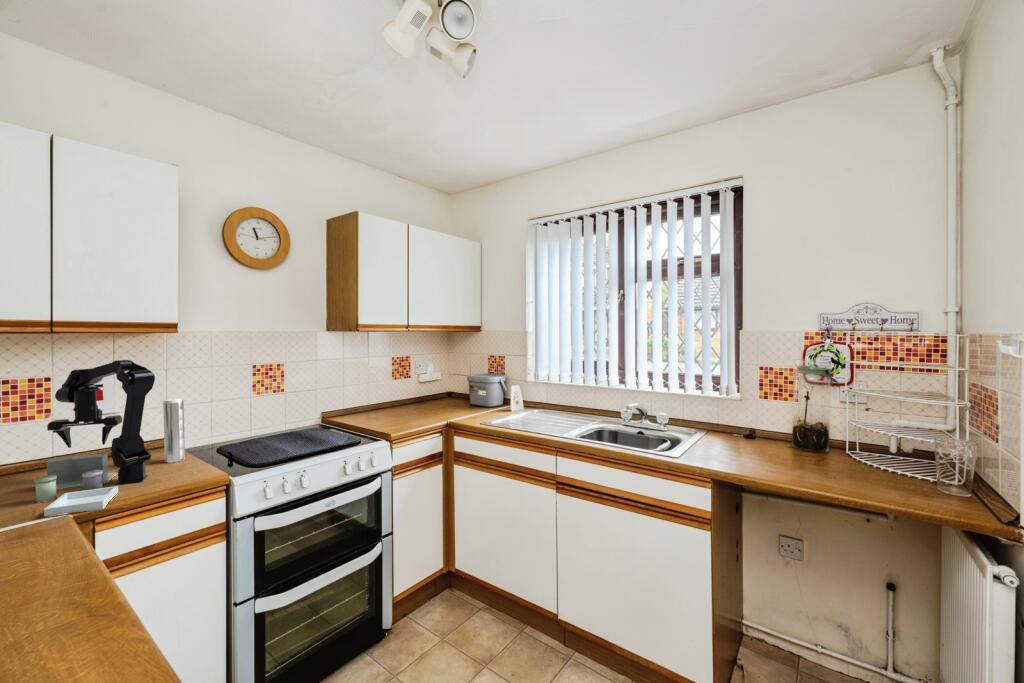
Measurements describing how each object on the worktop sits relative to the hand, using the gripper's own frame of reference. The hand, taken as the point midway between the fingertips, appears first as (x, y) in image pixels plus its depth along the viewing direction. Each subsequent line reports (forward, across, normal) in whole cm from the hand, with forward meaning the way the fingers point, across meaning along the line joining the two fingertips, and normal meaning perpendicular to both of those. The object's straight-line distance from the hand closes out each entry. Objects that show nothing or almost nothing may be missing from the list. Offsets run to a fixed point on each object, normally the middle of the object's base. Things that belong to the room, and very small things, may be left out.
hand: (87, 446), depth 157 cm
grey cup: (+11, -8, +23) cm, 27 cm away
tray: (+11, -9, +34) cm, 37 cm away
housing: (+11, 0, +8) cm, 14 cm away
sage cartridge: (+11, +3, +23) cm, 26 cm away
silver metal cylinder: (+11, -24, -8) cm, 28 cm away
